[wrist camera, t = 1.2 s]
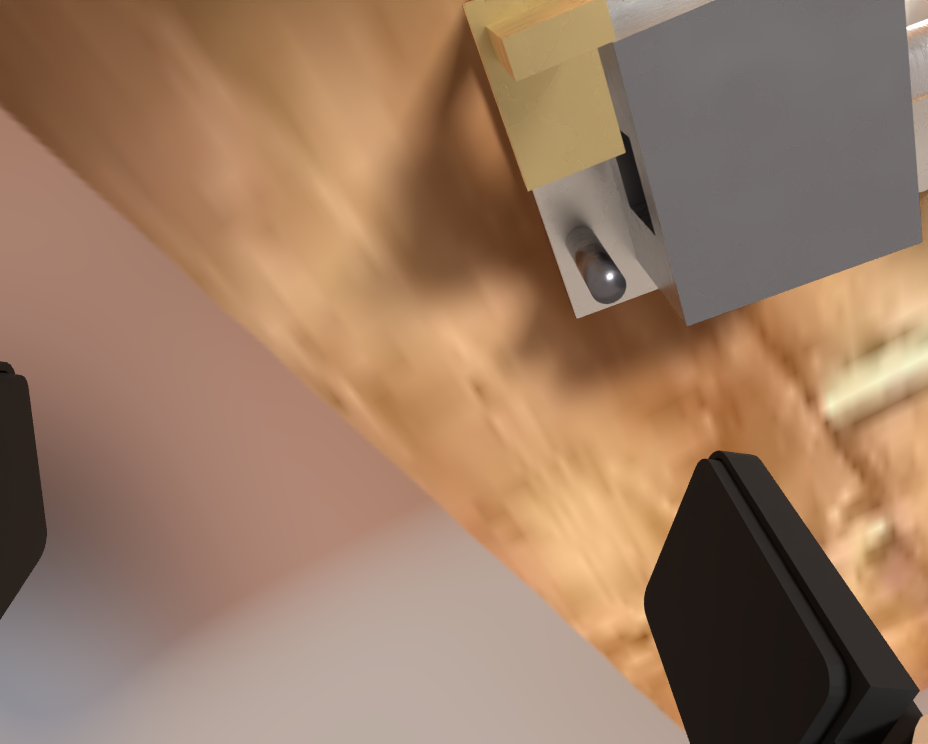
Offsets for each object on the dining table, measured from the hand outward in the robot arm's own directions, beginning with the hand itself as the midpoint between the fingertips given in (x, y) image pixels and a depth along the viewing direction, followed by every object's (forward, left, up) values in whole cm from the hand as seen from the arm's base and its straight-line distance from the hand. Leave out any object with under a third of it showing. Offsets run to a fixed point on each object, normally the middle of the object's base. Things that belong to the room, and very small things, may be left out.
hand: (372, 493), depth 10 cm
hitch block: (-10, +15, -29) cm, 34 cm away
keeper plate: (-5, +4, -21) cm, 22 cm away
